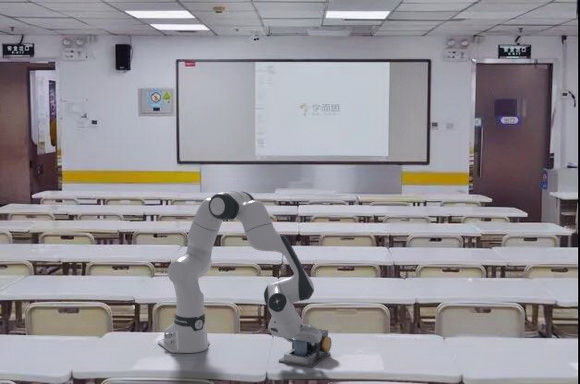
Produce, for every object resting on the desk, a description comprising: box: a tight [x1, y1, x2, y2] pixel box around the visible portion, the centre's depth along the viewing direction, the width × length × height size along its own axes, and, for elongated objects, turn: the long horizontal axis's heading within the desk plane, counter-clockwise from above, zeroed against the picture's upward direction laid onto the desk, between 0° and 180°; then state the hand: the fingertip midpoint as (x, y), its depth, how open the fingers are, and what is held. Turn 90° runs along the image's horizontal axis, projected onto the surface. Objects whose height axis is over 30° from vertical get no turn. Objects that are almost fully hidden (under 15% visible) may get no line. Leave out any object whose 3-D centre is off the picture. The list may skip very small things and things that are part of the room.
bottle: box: [294, 340, 307, 357], centre depth 289 cm, size 5×5×12 cm
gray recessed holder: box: [278, 323, 332, 368], centre depth 293 cm, size 15×18×12 cm
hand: (301, 342), depth 290 cm, fingers open, 8 cm apart
